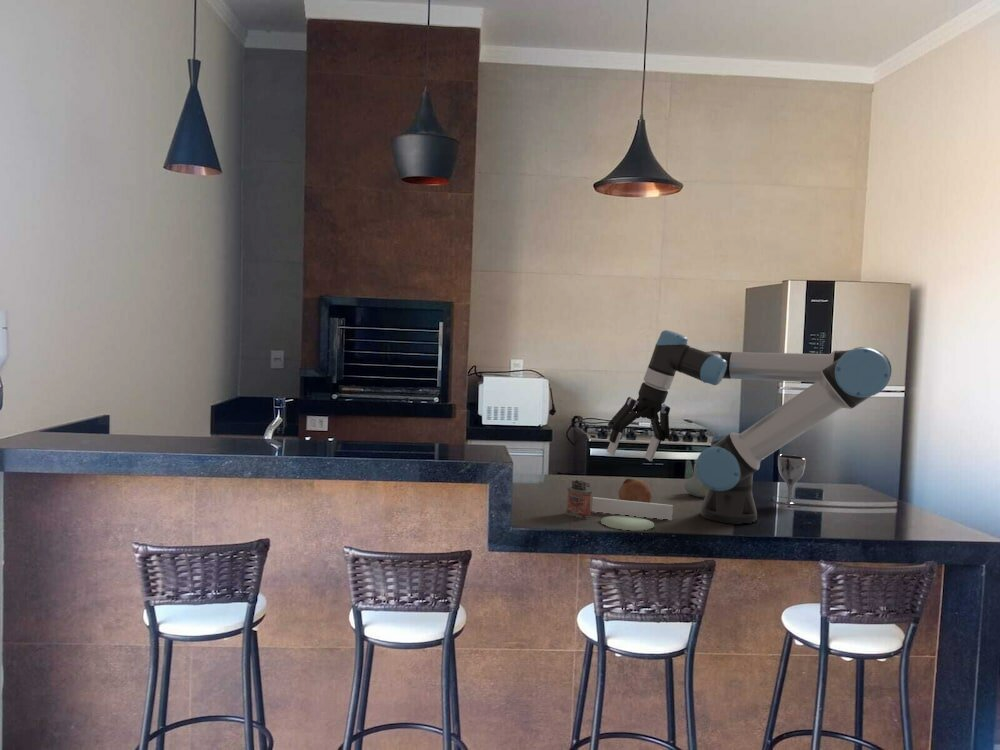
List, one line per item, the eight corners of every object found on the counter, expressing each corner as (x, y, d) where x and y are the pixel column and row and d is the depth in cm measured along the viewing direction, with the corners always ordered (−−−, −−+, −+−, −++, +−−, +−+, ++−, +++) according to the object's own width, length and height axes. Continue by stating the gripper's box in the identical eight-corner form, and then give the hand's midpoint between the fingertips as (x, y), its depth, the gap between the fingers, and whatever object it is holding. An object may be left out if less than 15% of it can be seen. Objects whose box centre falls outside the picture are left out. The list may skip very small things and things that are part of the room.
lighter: (563, 513, 218) (565, 477, 217) (572, 512, 220) (573, 476, 220) (584, 519, 212) (586, 483, 211) (593, 518, 214) (595, 482, 214)
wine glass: (803, 509, 237) (806, 459, 236) (775, 506, 239) (778, 457, 238) (802, 503, 244) (805, 455, 243) (775, 500, 247) (778, 453, 246)
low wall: (672, 519, 217) (672, 505, 216) (671, 520, 215) (672, 506, 215) (592, 511, 223) (593, 497, 222) (591, 512, 221) (592, 497, 221)
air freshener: (708, 492, 256) (709, 462, 255) (724, 498, 248) (726, 466, 247) (679, 493, 252) (681, 462, 251) (694, 499, 244) (696, 467, 243)
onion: (620, 519, 227) (606, 487, 227) (641, 506, 233) (627, 475, 233) (643, 514, 220) (629, 481, 220) (664, 501, 225) (649, 469, 226)
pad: (656, 520, 214) (656, 519, 214) (651, 533, 201) (651, 531, 201) (604, 515, 218) (605, 513, 218) (597, 527, 205) (597, 525, 205)
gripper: (681, 389, 226) (655, 456, 230) (612, 373, 213) (586, 445, 218) (697, 398, 219) (671, 467, 223) (627, 382, 207) (601, 456, 211)
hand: (629, 456), depth 221 cm, fingers open, 13 cm apart
